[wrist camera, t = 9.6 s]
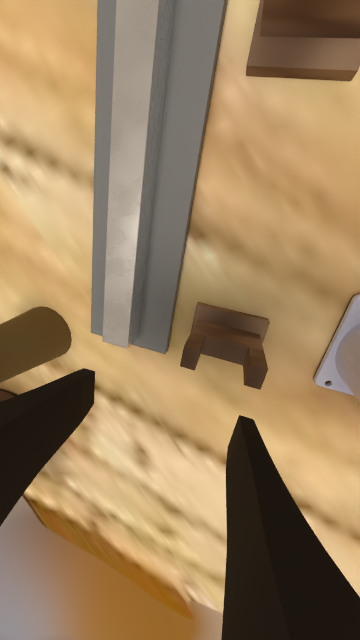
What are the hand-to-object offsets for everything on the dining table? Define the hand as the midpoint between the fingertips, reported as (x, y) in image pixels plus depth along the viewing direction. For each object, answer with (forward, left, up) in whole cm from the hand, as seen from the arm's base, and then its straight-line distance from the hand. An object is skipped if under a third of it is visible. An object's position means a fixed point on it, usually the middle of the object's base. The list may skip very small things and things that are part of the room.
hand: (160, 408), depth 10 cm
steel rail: (+6, -10, -10) cm, 15 cm away
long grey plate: (+6, -10, -10) cm, 16 cm away
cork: (+16, +5, -11) cm, 20 cm away
